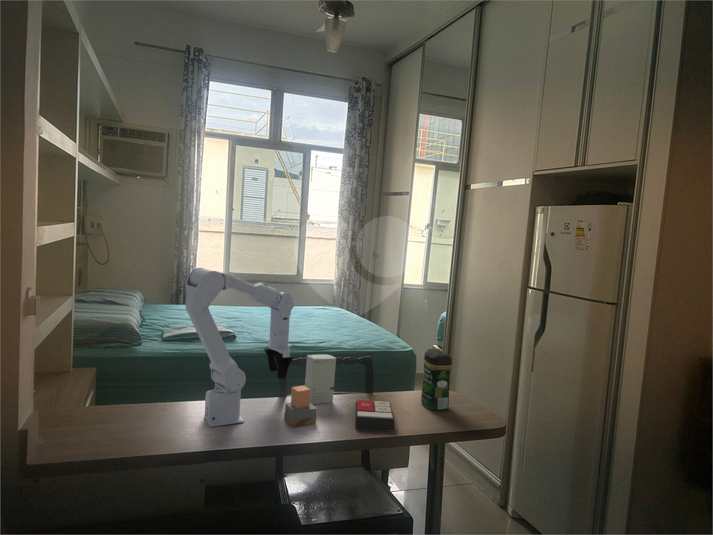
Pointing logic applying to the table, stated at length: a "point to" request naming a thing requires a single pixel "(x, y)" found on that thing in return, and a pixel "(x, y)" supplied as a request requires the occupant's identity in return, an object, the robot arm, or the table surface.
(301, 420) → the tower base slab
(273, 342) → the robot arm
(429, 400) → the coffee jar
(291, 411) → the tower top slab
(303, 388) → the terracotta block
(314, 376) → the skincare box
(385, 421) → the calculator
